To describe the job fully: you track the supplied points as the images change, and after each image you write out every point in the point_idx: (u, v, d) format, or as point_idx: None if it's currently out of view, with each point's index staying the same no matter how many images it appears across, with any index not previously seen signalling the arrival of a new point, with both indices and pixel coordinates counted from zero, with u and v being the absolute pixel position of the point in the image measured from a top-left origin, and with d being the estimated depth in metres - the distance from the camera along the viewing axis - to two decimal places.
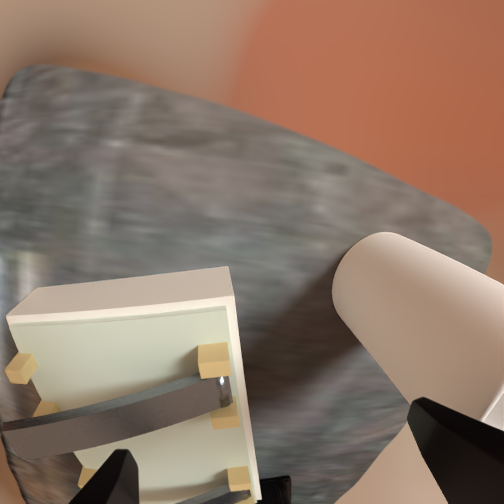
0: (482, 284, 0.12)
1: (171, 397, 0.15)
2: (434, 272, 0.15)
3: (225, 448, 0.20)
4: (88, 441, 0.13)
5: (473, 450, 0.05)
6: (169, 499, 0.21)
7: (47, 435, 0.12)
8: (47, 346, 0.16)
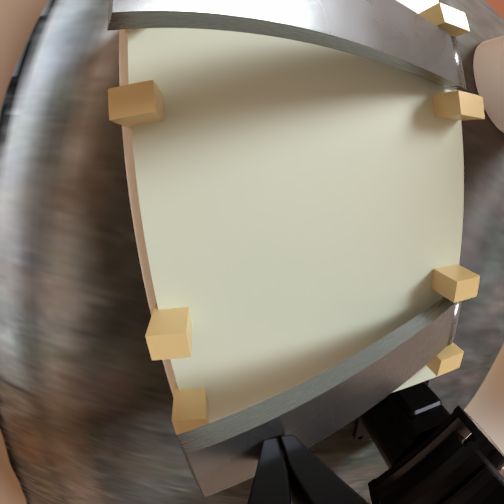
0: None
1: (423, 24, 0.08)
2: None
3: (441, 211, 0.12)
4: (321, 14, 0.06)
5: None
6: None
7: None
8: None
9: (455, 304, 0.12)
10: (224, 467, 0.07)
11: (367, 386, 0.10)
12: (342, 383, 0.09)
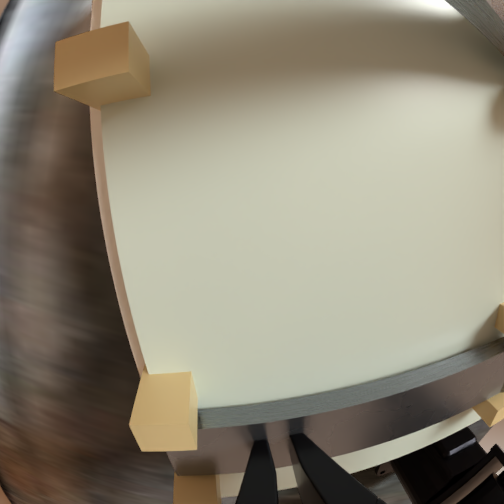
0: None
1: None
2: None
3: None
4: None
5: None
6: None
7: None
8: None
9: None
10: (195, 454, 0.08)
11: (376, 420, 0.08)
12: (339, 410, 0.08)
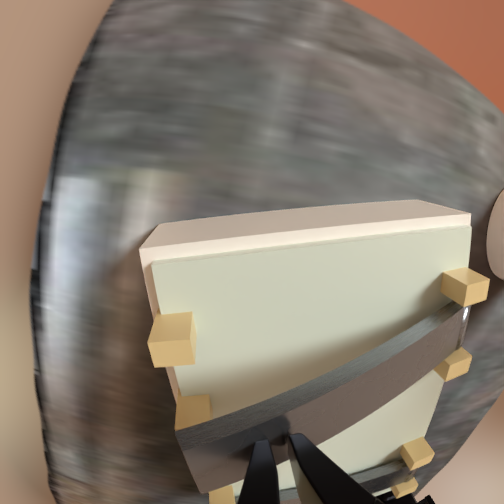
0: None
1: (435, 335, 0.11)
2: None
3: (415, 416, 0.15)
4: (333, 427, 0.09)
5: None
6: None
7: (277, 434, 0.08)
8: (230, 294, 0.12)
9: None
10: None
11: None
12: None
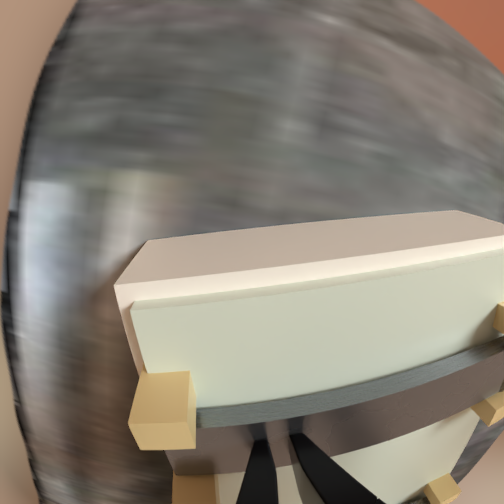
0: None
1: (470, 373, 0.08)
2: None
3: (445, 456, 0.12)
4: (324, 448, 0.08)
5: None
6: None
7: (255, 440, 0.08)
8: (242, 348, 0.08)
9: None
10: None
11: None
12: None
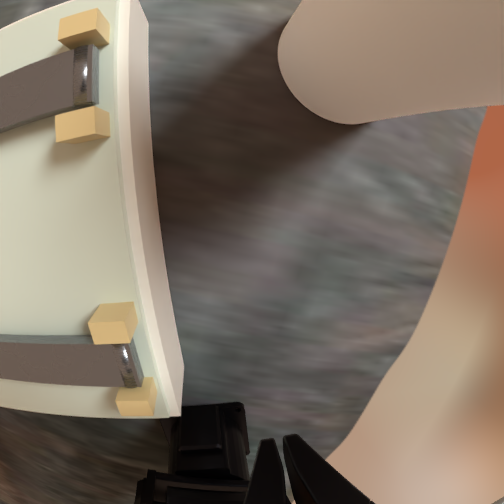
0: None
1: (20, 75, 0.09)
2: None
3: (93, 243, 0.12)
4: None
5: None
6: (35, 386, 0.14)
7: None
8: None
9: (110, 345, 0.12)
10: None
11: (10, 358, 0.12)
12: None
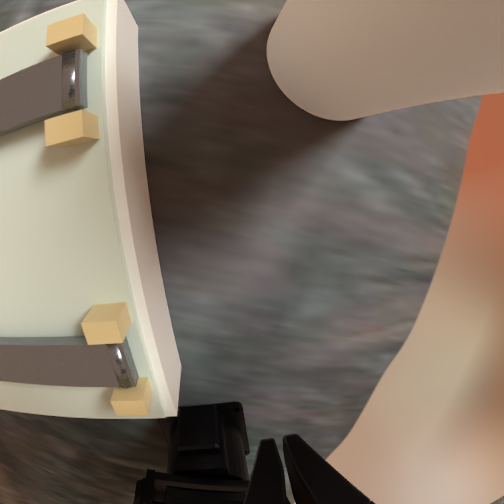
0: None
1: (11, 82, 0.09)
2: None
3: (85, 245, 0.12)
4: None
5: None
6: (33, 388, 0.14)
7: None
8: None
9: (104, 345, 0.12)
10: None
11: (7, 360, 0.12)
12: None
